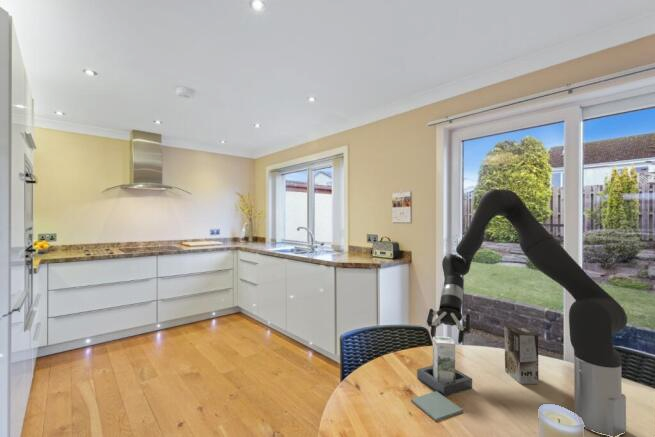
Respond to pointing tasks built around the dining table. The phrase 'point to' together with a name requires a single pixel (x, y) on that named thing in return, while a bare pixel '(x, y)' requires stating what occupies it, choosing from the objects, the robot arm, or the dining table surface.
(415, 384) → the dining table surface
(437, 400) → the slate coaster
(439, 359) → the syrup box
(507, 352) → the coffee box
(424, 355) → the dining table surface
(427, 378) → the socket block
